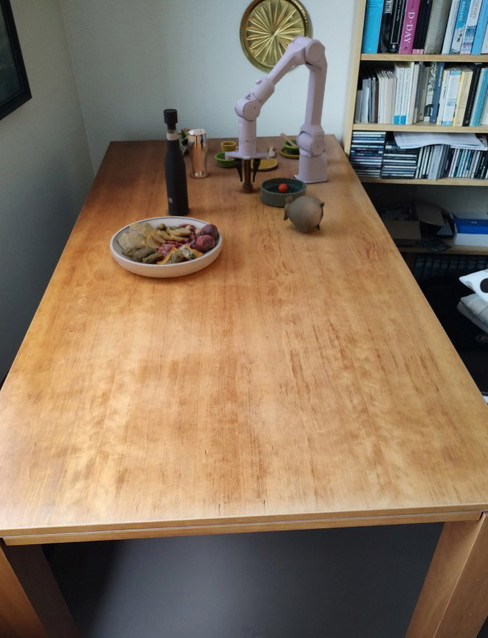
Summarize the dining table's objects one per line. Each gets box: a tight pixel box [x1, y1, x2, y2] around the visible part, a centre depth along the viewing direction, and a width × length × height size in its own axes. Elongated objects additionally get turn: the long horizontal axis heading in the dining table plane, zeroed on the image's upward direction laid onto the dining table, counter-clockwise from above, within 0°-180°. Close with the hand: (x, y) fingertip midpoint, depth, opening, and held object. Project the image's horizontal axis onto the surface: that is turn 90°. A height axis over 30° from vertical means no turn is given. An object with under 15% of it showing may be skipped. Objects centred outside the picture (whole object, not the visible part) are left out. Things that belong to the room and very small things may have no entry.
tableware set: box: [213, 132, 326, 172], centre depth 210 cm, size 41×28×6 cm
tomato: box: [279, 184, 287, 193], centre depth 184 cm, size 3×3×3 cm
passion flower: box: [177, 127, 192, 156], centre depth 215 cm, size 11×11×12 cm
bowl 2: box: [259, 176, 308, 208], centre depth 181 cm, size 15×15×4 cm
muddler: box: [241, 159, 254, 194], centre depth 184 cm, size 4×4×11 cm
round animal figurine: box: [282, 194, 326, 233], centre depth 161 cm, size 10×12×10 cm
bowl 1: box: [109, 215, 223, 279], centre depth 149 cm, size 30×30×8 cm
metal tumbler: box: [187, 128, 209, 179], centre depth 195 cm, size 7×7×15 cm
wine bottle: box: [163, 108, 190, 217], centre depth 164 cm, size 6×6×30 cm
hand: (247, 181), depth 185 cm, fingers open, 3 cm apart
